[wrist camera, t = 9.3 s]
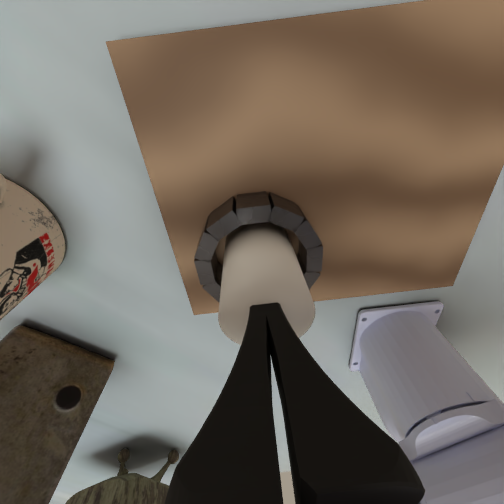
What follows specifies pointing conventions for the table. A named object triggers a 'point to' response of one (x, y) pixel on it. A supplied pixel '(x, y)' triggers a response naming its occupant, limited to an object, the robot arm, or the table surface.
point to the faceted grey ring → (250, 212)
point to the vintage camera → (43, 410)
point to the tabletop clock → (127, 486)
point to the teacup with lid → (25, 244)
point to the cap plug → (262, 279)
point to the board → (329, 134)
